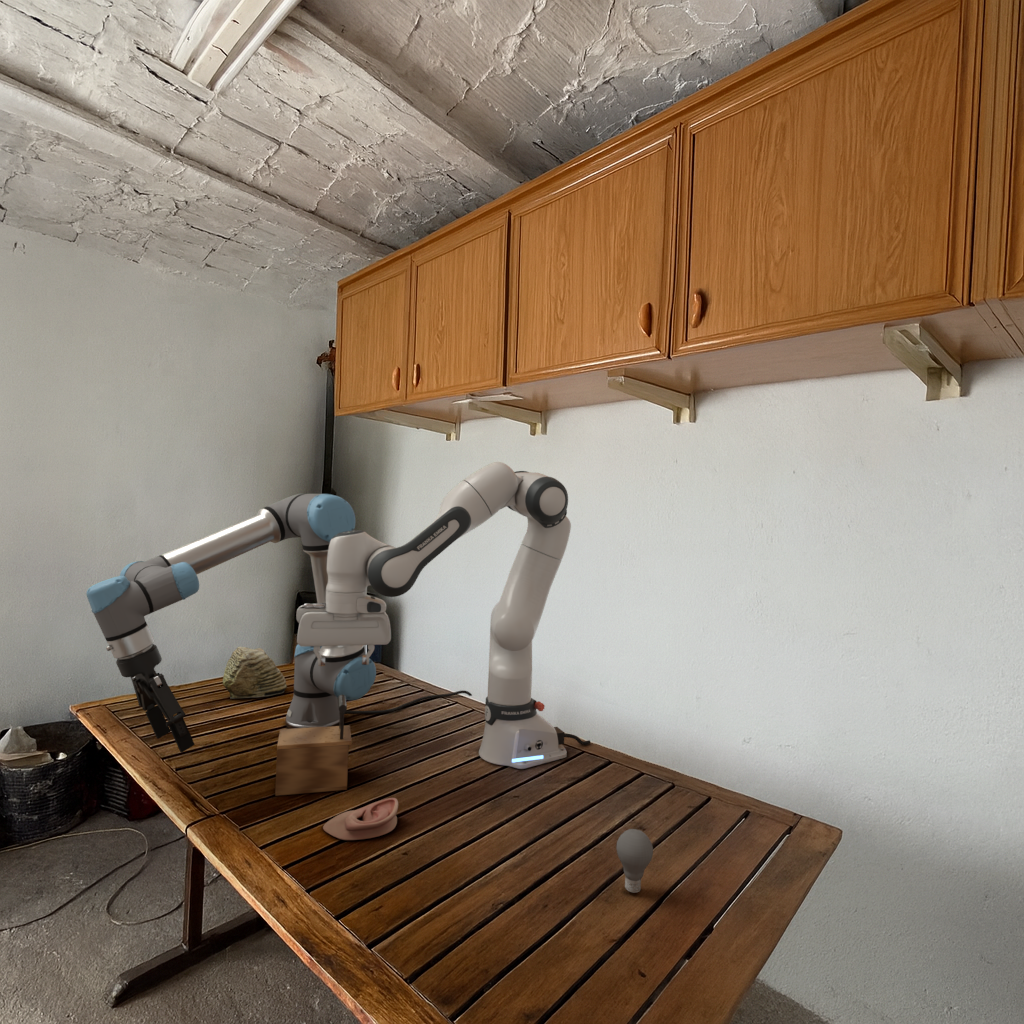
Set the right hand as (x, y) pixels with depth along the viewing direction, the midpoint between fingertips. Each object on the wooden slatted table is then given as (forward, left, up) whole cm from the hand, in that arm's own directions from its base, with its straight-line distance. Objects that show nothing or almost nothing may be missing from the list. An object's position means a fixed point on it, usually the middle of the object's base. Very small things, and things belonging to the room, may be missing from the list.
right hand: (343, 664), depth 141 cm
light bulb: (-38, +58, -26) cm, 74 cm away
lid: (+5, -1, -16) cm, 17 cm away
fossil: (+14, -69, -26) cm, 75 cm away
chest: (+6, -1, -26) cm, 27 cm away
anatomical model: (0, +21, -26) cm, 34 cm away
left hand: (+33, -6, -15) cm, 37 cm away
